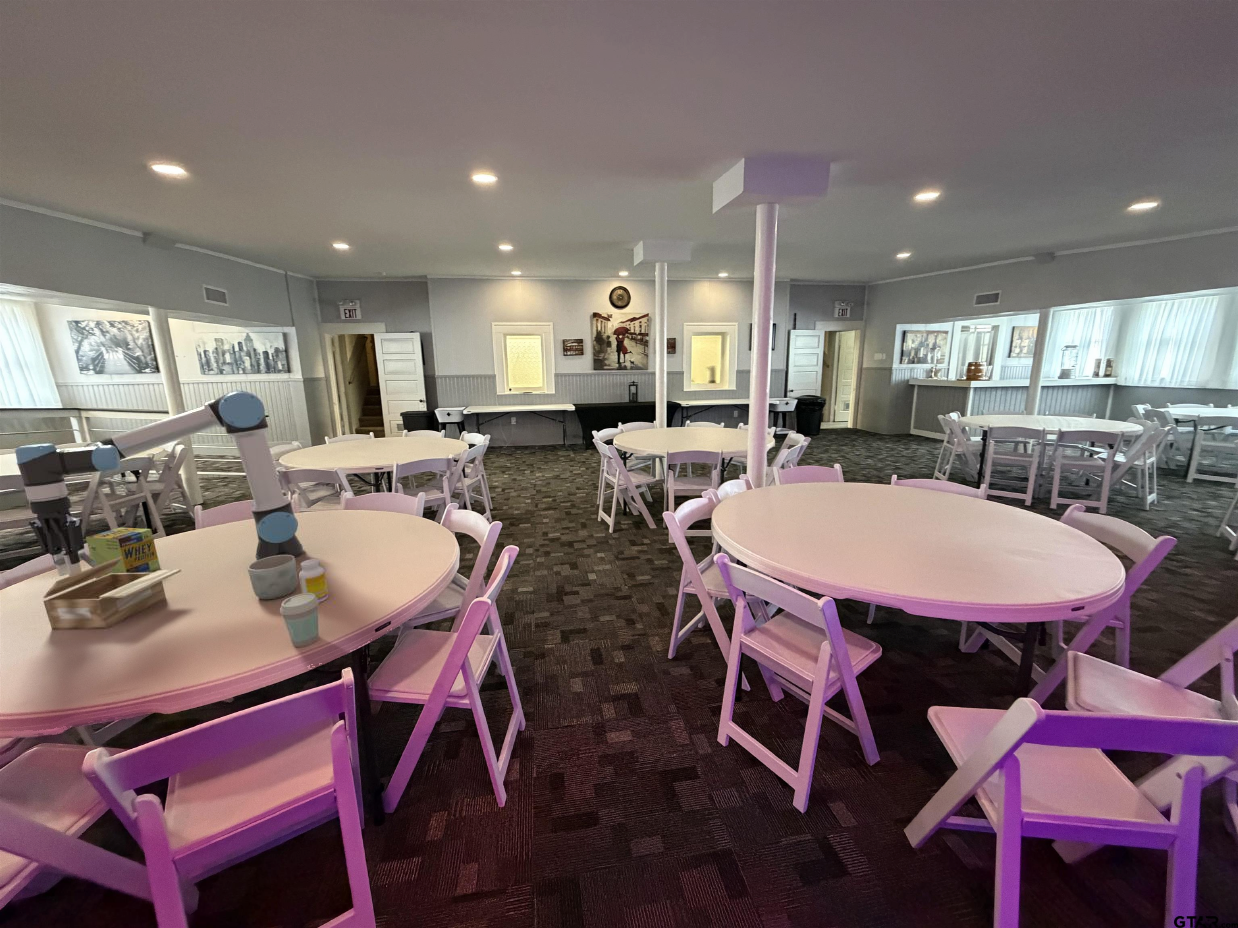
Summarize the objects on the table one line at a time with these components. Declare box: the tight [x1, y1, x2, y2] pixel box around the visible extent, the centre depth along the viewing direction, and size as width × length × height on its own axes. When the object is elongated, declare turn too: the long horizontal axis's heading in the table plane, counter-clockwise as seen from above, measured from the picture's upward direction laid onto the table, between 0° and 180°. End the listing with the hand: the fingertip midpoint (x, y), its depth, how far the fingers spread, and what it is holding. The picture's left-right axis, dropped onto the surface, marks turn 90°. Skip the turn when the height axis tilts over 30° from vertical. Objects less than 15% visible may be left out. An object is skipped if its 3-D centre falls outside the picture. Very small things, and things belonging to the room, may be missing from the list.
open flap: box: [42, 550, 122, 600], centre depth 142 cm, size 7×17×7 cm
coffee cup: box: [279, 593, 320, 648], centre depth 126 cm, size 8×8×12 cm
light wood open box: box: [43, 569, 182, 631], centre depth 144 cm, size 23×18×10 cm
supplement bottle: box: [298, 558, 329, 604], centre depth 148 cm, size 7×7×13 cm
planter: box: [247, 555, 298, 600], centre depth 154 cm, size 12×12×11 cm
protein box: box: [85, 527, 161, 578], centre depth 173 cm, size 10×15×16 cm
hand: (70, 573), depth 141 cm, fingers open, 2 cm apart
